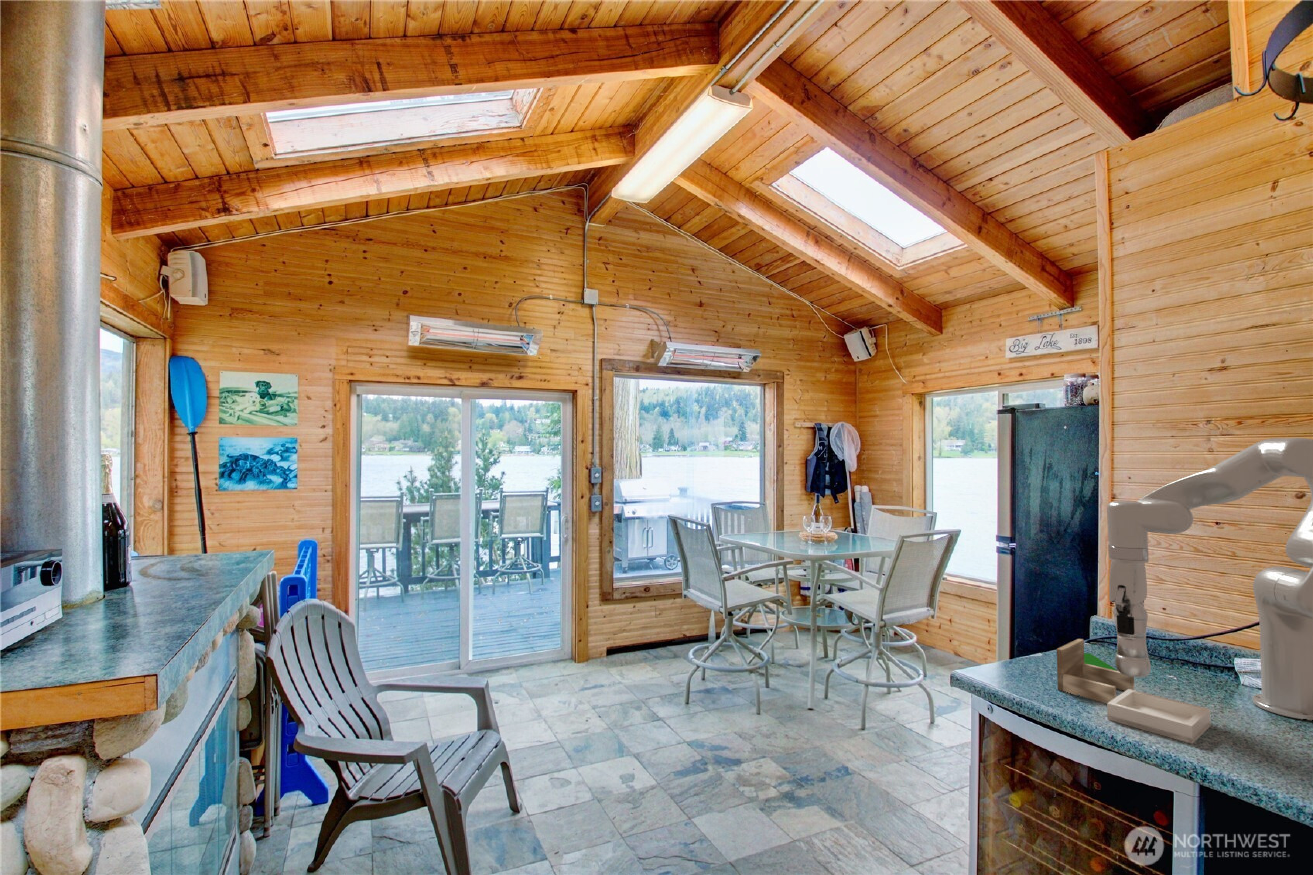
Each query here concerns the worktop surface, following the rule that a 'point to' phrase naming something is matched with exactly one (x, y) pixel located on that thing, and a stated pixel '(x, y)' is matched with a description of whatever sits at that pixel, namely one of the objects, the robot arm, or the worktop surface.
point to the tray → (1159, 715)
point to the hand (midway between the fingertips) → (1131, 630)
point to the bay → (1088, 675)
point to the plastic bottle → (1133, 645)
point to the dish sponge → (1096, 661)
